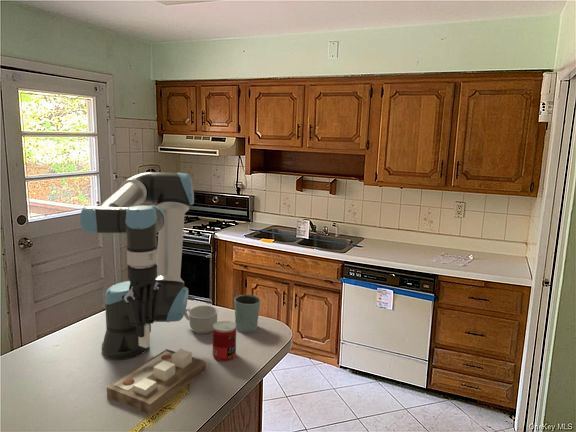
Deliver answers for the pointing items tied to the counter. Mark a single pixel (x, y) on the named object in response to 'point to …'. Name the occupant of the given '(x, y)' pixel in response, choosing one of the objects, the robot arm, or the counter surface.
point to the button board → (164, 390)
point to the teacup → (202, 318)
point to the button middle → (164, 370)
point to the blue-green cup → (246, 313)
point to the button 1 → (145, 386)
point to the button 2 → (182, 358)
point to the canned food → (224, 340)
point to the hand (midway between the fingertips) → (144, 345)
